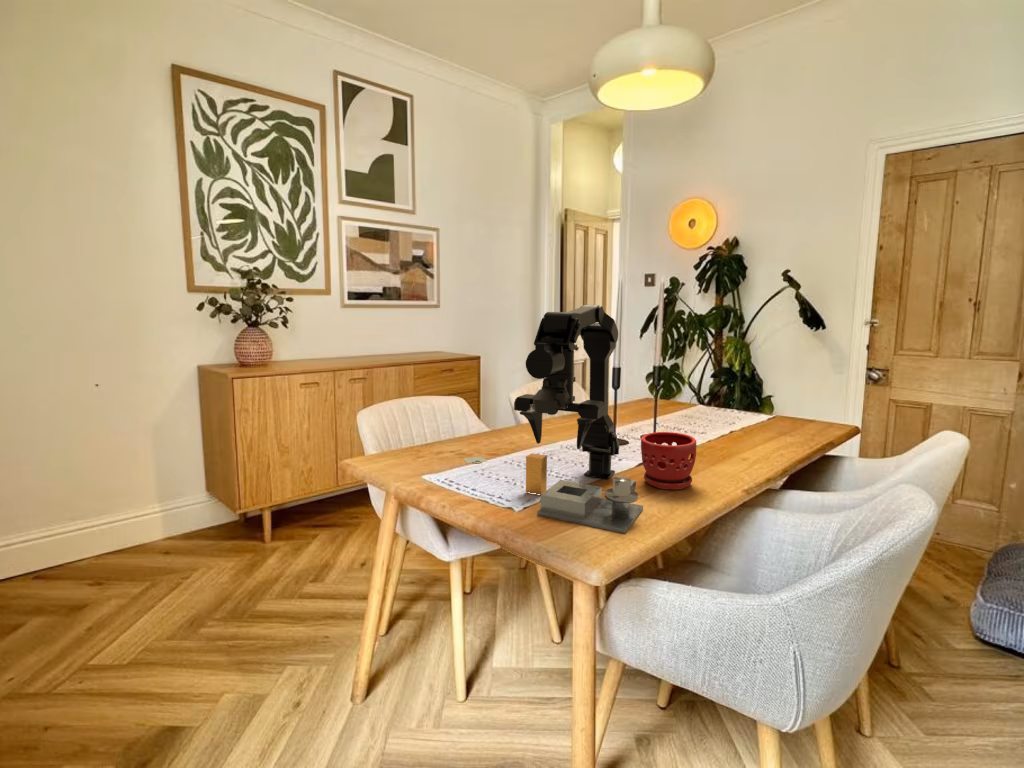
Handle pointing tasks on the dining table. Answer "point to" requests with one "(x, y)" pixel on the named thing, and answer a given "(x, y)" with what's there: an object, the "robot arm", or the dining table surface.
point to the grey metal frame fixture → (593, 504)
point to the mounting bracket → (475, 460)
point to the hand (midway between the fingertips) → (558, 445)
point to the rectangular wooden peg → (536, 473)
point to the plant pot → (668, 459)
